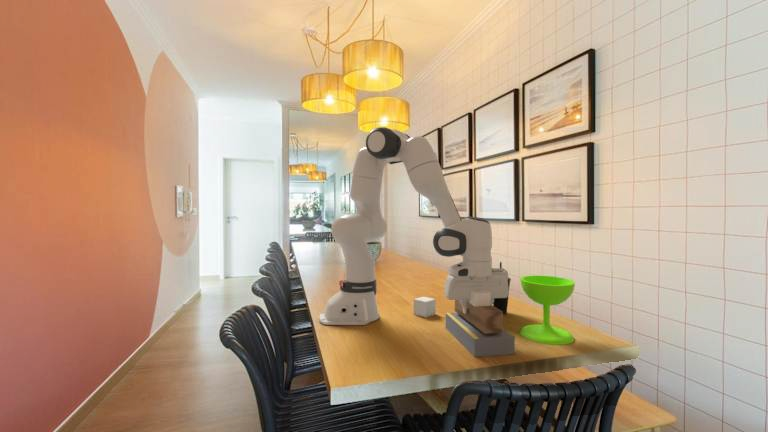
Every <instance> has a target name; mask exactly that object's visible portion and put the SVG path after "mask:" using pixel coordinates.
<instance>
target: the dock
mask: <svg viewBox="0 0 768 432" xmlns="http://www.w3.org/2000/svg"><path fill="white" fill-rule="evenodd" d="M445 329H446V330H447V331H448V332H449V333H450V334H451V335H452V336H453V337H454V338H455V339H456V340H457V341H458V342H459V343H460V344H461V345H462V346H463V347H464V348H465V349H466V350H467V351H468V352H469V353H470V354H471V355H472V356H473V357H475V358H478V357H490V356H493V357H494V356H505V355H506V356H507V354H508V355H515V339H516V337H515V336H514V335H513V334H512V333H510V332H509V331H507V330H506V329H504V328H503V333H489V334H485V333H483V332H482V331H481V330H479V329H478V328H477V327H475V326H474V325H473V324H471V323H470V322H469V321H467V320H466V319H465V318H463V317H462V316H461V315H459V314H458V313H457V312H445Z"/></svg>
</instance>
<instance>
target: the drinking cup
mask: <svg viewBox="0 0 768 432" xmlns="http://www.w3.org/2000/svg"><path fill="white" fill-rule="evenodd" d="M499 268H503V266H502V261H500V262H499ZM511 281H512V279H511V278H510V277H508V287H509V288H510V285H511ZM509 295H510V294H509ZM509 295H508V296H507V298H494V303H493V304H492V306H494V307H496V308H498V309H499V310H501V311H503V315H506V314H507V313H508V305H509Z"/></svg>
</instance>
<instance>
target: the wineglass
mask: <svg viewBox="0 0 768 432" xmlns="http://www.w3.org/2000/svg"><path fill="white" fill-rule="evenodd" d="M520 283H521V284H520V285H521V288H522V290H523V292H524V293H525V294H526V295H527V297H528V298H529V299H530V300H531V301H533V302H535V303H537V304H539V305H542V307H543V308H542V309H543V311H542V313H543V315H542V318H543V319H542V322H543V323H542V324H528V325H524V326H523V327H521V329H520V331H519V333H520V335H521V336H522V337H523V338H525V339H527V340H530V341H532V342H536V343H539V344H543V345H544V344H546V345H551V346H552V345H553V346H561V345H562V346H563V345H569V344H571V343H573V342H574V341H575V339H574V336H573V335H572V333H570V332H569V331H568V330H565V329H564V328H560V327H558V326H554V325H550V321H551V320H550V319H551V318H550V315H551V314H550V313H551V311H550V310H551V308H550V306H557V305H560V304H563V303H564V302H566V301H567V300H568V299H569V298H570V297H571V296H572V294H573V292H574V290H575V284H576V283H575V281H574V280H573V279H569V278H564V277H559V276H553V275H552V276H551V275H536V274H535V275H534V274H533V275H525V276H521V278H520Z"/></svg>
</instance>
